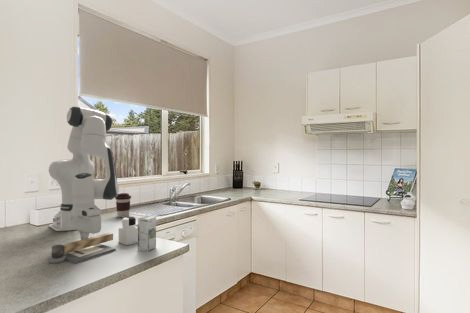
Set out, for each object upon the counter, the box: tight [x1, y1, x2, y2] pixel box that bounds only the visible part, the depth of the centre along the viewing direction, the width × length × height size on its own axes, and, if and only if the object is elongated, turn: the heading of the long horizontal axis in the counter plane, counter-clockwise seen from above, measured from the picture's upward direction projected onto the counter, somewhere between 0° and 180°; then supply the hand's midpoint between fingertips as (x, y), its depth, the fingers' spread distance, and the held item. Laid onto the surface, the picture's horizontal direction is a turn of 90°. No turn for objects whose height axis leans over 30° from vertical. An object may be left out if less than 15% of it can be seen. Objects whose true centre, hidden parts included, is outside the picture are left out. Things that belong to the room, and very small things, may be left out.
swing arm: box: [51, 232, 114, 258], centre depth 127 cm, size 26×4×4 cm, turn 148°
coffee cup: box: [114, 192, 132, 218], centre depth 197 cm, size 10×10×15 cm
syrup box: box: [137, 215, 157, 252], centre depth 132 cm, size 6×6×14 cm
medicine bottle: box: [118, 216, 138, 246], centre depth 141 cm, size 7×7×12 cm
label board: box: [48, 243, 117, 265], centre depth 124 cm, size 16×23×2 cm
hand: (84, 240), depth 132 cm, fingers closed
